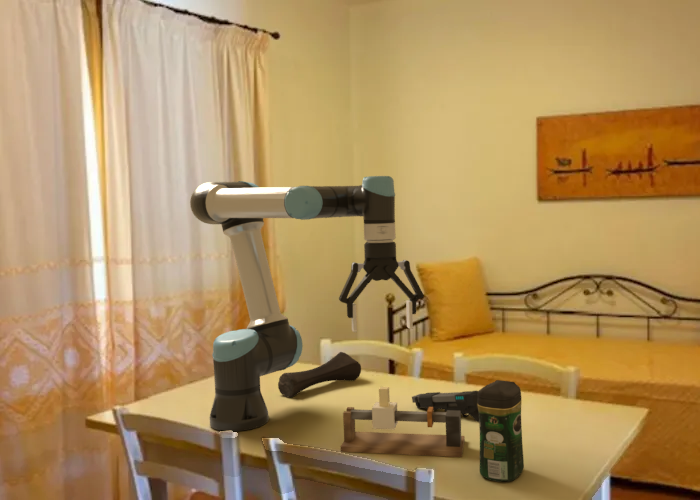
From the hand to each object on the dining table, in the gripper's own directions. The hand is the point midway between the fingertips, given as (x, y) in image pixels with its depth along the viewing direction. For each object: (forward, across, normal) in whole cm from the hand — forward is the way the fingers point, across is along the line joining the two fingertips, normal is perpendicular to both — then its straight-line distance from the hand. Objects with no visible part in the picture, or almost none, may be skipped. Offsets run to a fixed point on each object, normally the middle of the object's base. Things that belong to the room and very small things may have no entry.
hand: (382, 329), depth 162 cm
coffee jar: (+25, +17, -31) cm, 43 cm away
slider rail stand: (+25, +2, -10) cm, 27 cm away
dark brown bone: (+26, -9, +46) cm, 53 cm away
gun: (+26, +19, +10) cm, 33 cm away
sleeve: (+21, -2, -9) cm, 22 cm away
